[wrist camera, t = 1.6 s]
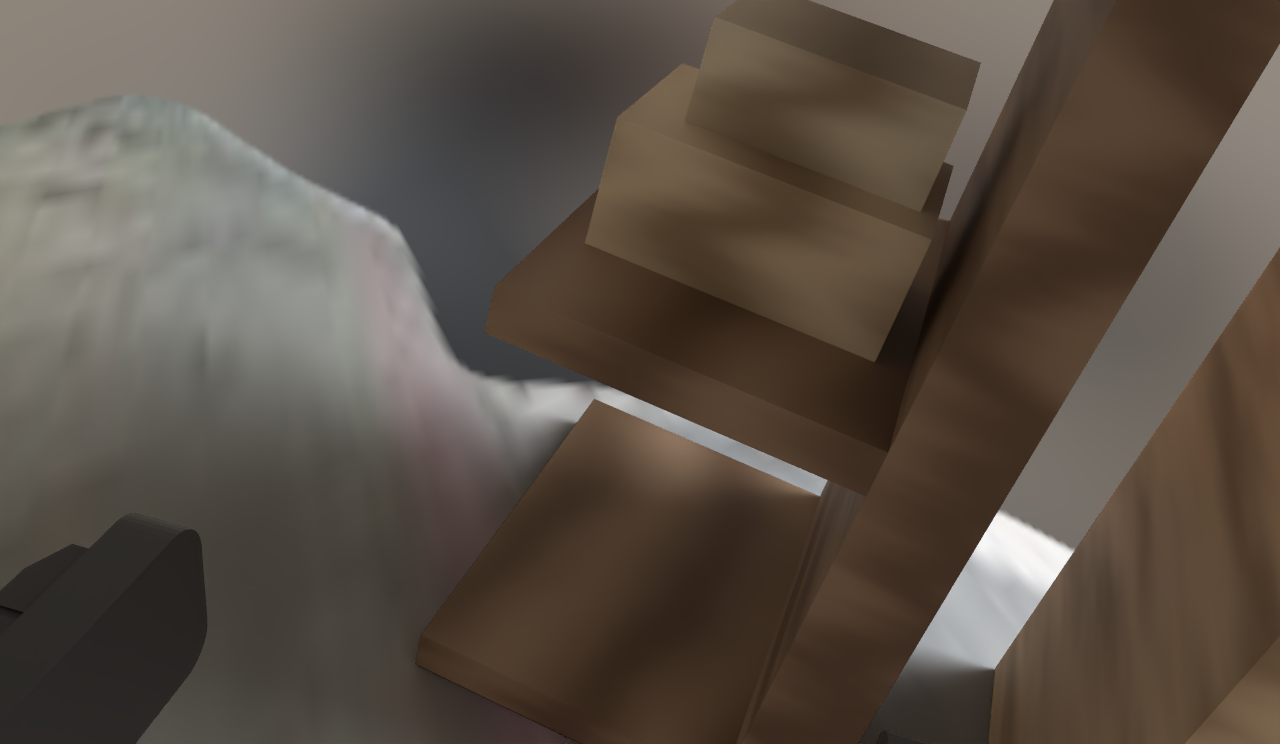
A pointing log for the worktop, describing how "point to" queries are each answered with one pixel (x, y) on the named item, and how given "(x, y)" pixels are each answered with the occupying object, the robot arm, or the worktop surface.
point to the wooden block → (1171, 575)
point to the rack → (820, 355)
